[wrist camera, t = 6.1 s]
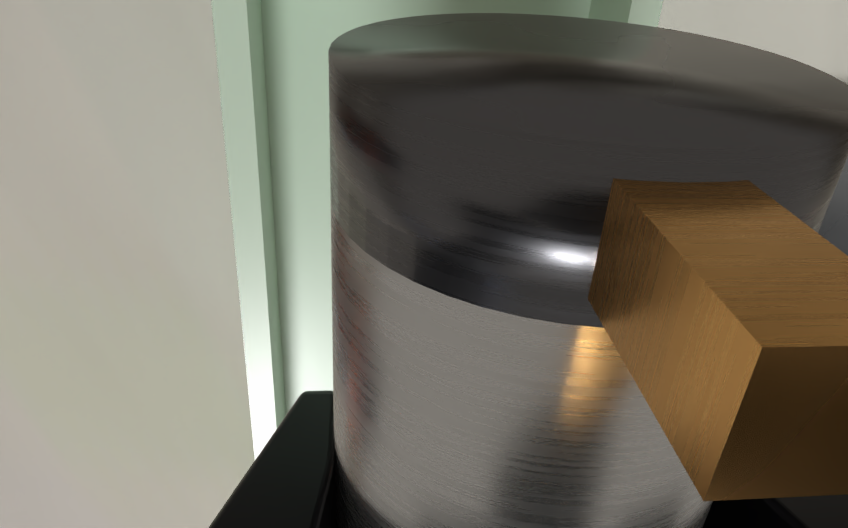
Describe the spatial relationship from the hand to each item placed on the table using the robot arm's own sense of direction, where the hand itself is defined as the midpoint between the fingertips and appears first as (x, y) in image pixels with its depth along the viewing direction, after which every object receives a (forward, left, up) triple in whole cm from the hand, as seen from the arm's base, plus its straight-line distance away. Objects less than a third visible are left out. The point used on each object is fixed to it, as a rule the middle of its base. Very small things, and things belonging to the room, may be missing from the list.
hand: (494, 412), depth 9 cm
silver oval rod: (0, +3, -1) cm, 4 cm away
